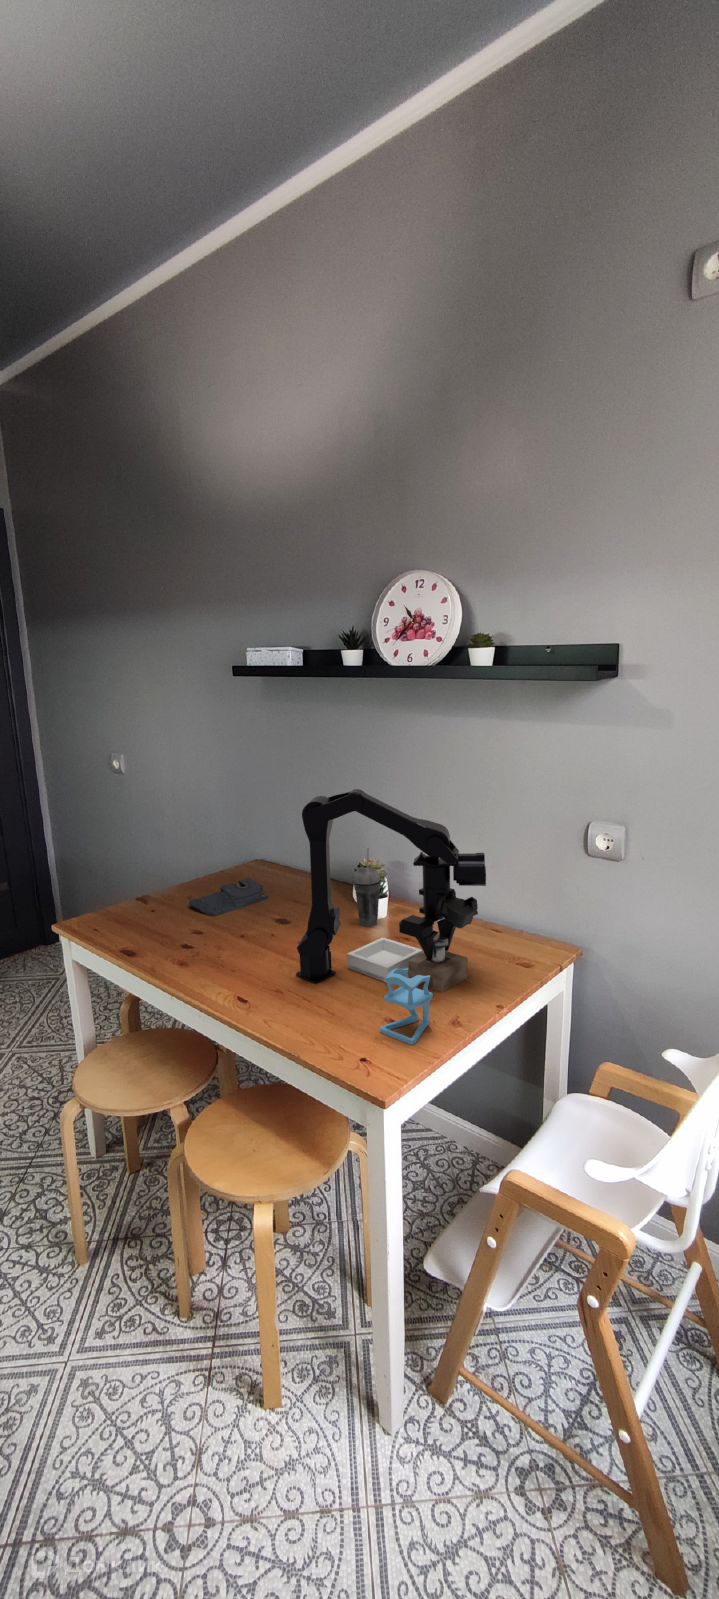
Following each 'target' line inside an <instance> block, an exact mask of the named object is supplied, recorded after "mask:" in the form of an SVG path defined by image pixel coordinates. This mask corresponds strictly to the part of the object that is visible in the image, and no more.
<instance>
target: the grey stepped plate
mask: <svg viewBox="0 0 719 1599" xmlns="http://www.w3.org/2000/svg"><path fill="white" fill-rule="evenodd" d="M219 889H220V891H219V892H218V891H217V892H213V893H209V894H206V895H203V896H201V897H196V898H192V899H190V900H188V905H189V906H191V907H193V908H194V909H197V910H199V911H200V912H201V913H203V914H206V915H207V916H213V917H218V916H221V915H224V914H226V913H230V912H234V911H236V910H240V909H243V908H245V907H248V906H251V905H255V904H258V903H259V902H263V901H266V900H269V897H270V895H268V894H265V893H264V892H263V889H264V885H262V884H261V883H259V882H257V881H255V880H253V879H252V878H251V877H246V878H245V879H241V880H238V881H237V883H233V882H230V883H229V884H227V885H226V884H223V885H221V886H220V888H219Z"/></svg>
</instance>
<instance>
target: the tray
mask: <svg viewBox="0 0 719 1599" xmlns="http://www.w3.org/2000/svg"><path fill="white" fill-rule="evenodd" d="M422 953H424V951H423V950H422V948H417V947H413V946H411V945H408V944H405V943H402V942H399V941H396V940H392V939H389V938H386V937H381V938H378V939H376V940H374V941H372V942H370V943H368V944H365V945H363V946H360V947H359V948H357V949H354V950H352V951H350V952H347V953H346V955H347V956H346V957H347V960H346V961H347V969H349V970H352V971H353V972H354V971H355V972H357V973H359V974H362V975H364V976H368V977H371V978H373V979H375V980H378V981H381V982H384V983H386V980H385V978H386V977H387V975H388V974H389V973H390V972H391V971H392V970H393V969H406V968H408V973H409V966H408V960H410V959H412V958H414V957H416V956H418V955H420V954H422ZM400 975H403V976H404V974H400Z"/></svg>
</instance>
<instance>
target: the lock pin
mask: <svg viewBox="0 0 719 1599" xmlns="http://www.w3.org/2000/svg"><path fill="white" fill-rule="evenodd" d="M447 945H448V937H446V936H444V935H440V934H437V935H436V936H435V937H434V942H433V956H432V959H431V962H433V963H436V964H439V965H440V964H442V963H444V962H445V947H446V946H447Z"/></svg>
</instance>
